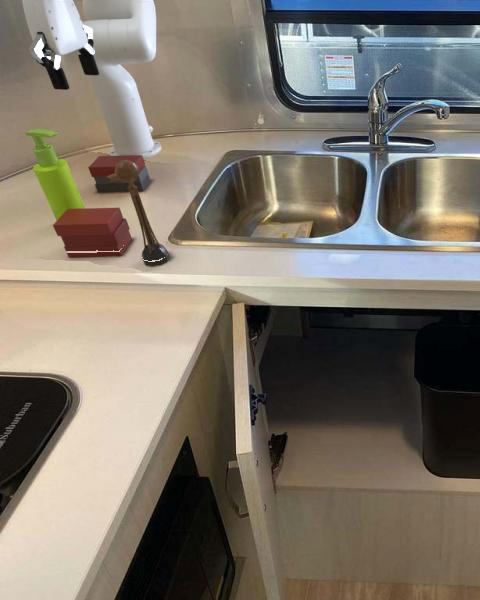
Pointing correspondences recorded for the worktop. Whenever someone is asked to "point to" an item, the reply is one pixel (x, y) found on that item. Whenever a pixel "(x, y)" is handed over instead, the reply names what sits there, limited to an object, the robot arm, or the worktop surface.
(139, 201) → the wooden tabletop sculpture
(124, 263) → the worktop surface
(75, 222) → the red books
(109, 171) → the red book
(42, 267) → the worktop surface
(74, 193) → the soap dispenser
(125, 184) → the grey books
